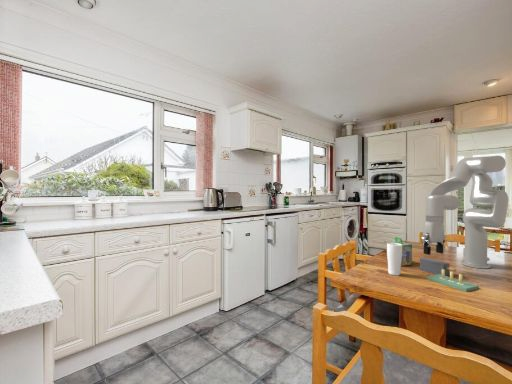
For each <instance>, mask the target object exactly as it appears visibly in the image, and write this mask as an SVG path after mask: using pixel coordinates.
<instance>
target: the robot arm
mask: <svg viewBox="0 0 512 384" xmlns="http://www.w3.org/2000/svg"><path fill="white" fill-rule="evenodd" d="M506 164H507V162H506V158H505V157H503V156H501V155H489V156H488V155H487V156H485V155H484V156H476V157H475V156H473V157H466V158H462V159H460V160H459V161H458V162H457V163H456V165H455V167H454V168H453V170H452V172H451V174H450V175H449V177H448V178H447V179H444V180H442V181H441V182H440V183H439V184H437V185H435V186H434V187H433V188H432V189H431V190H430V191H429V192H430V193H429V194H428V195H427V196H426V202H425V203H426V204H425V221H424V224H423V229H422V237H421V238H420V239H421V243H422V246H423V252H422V253H423V254H424V255H428V256H431V253H432V247H431V245H432V243H433V244H434V243H435V252H436V253H438V254H444V246H445V243H446V238H447V236H446V235H445V229H444V226H445V225H444V223H445V222H444V221H445V220H444V219H445V211H454V210H458V208H459V207H460V205H461V201H460V199H459V198H458V197H457V196H455V195H452V194H451V195H450V194H448V193H450V192H453V191H457V190H460V189H463V188H465V187H467V185H468V183H469V182H470V181H471V180H472V185H471V188H470V189H471V190H470V194H469V195H470V196H469V203H470V205H472V206H474V207H482V208H474V207H473V208H467V209H465V210H464V212H463V214H462V218H463V222H464V260H461V262H460V263H461V265H464V266H466V267H469V268H470V267H471V268H475V269H483V270H485V269H491V267H492V265H491V264H490V263H488V262H489V261H490V260H491V259H490V257H488V236H489V235H488V233H487V230H486V229H485V228H491V229H492V228H493V229H494V228H495V229H500V228H502V227H503V226H504V225H505V222H506V219H507V214H508V206H509V201H510V200H509V194H508V193H507V192H506V190H504V189H503V190H502V189H493V179H492V178H491V176H490V175H489V173H490V174H491V173H499V172H501V171H503V170H504V169H505V168H506ZM446 194H447V195H446ZM483 207H485V208H483Z"/></svg>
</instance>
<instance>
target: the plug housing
mask: <svg viewBox="0 0 512 384" xmlns="http://www.w3.org/2000/svg"><path fill="white" fill-rule="evenodd" d="M442 269H444V270H445V276H447V277H450V272H457V269H456V268H453V267H450V262H445V261H442V260H438V259H434V258H430V257H429V258H428V257H420V258H419V270H421V271H422V272H427V273H430V274H433V275H438V274H440V275H442Z"/></svg>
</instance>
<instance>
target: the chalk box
mask: <svg viewBox="0 0 512 384" xmlns="http://www.w3.org/2000/svg"><path fill="white" fill-rule="evenodd" d="M398 240H399V241H398ZM387 243H399V244H402V261H401V267H404V266H413V244H411V243H407V242H403V240H402V238H400V237H397V236H395V237H394V241H391V242H389V241H388V242H387ZM386 259H387V258H386ZM386 262H387V263H388V259H387V261H386Z"/></svg>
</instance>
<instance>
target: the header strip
mask: <svg viewBox="0 0 512 384" xmlns="http://www.w3.org/2000/svg"><path fill="white" fill-rule="evenodd" d="M463 275H464V274H461V273H459V274H458V279H457V278H454V271H449V276H445V270H444V269H442V275H440V274H438V275H436V274H433V275H429V276H426V280H429V281H431V282H435V283H438V284H441V285H444V286H447V287H450V288H454V289H457V290H459V291H463V292H470V291H474V290H478V289H479V288H480V286H479V285H477V284H474V283H471V282H467V281H464V280H463Z"/></svg>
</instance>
